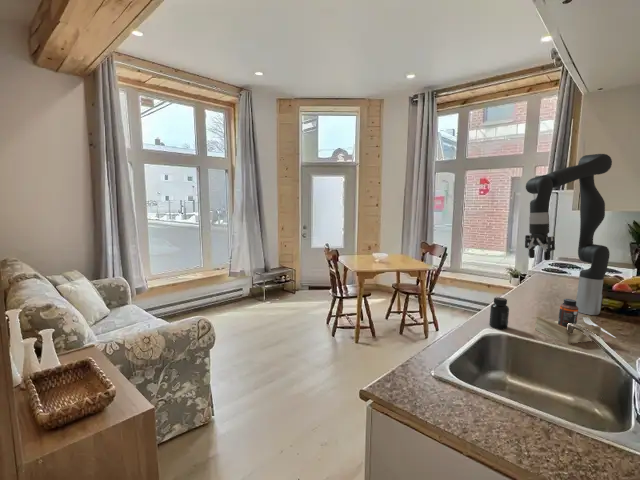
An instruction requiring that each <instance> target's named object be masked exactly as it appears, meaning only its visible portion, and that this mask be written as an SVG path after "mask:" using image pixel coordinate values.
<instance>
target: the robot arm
mask: <svg viewBox="0 0 640 480" xmlns="http://www.w3.org/2000/svg"><path fill="white" fill-rule="evenodd" d="M612 164H613V159H612V157H611V156H610V155H608V154H605V153H596V154H594V153H593V154H587V155H586V154H585V155H583V156H581V157H580V158H579V161H578V164H576V165H572V166H568V167H563V168H560V169H557V170H554V171H552V172H550V173H547V174H543V175H537V176H536V177H532V178H530V179H529V180H528V181H527V182H526V184H525V190H526V191H527V192H528V193H529V194H532V195H536V198H534V199H531V201H530V202H529V224H528V227H529V228H528V229H529V234H527V235H525V236H524V237H525V238H524V239H525V240H524V248H525V249H527V250H528V257H529V258H530V259H534V258H535V256H536V255H535V251H536V250H535V249H536V247H541V248H542V249H543V251H544V253H543V254H544V255H543V256H544V261H550V259H551V257H552V256H551V252H552V251H555V250H556V243H555V240H556V239H555V236H553V235H552V236H549V235H548V234H549V233H550V214H549V213H550V211H549V203H550V199H551V196H552V193H553V190H554V188H558V187H561V186H565V185H567V184H569V183H573V182H575V181H578V180H579V181H578V182H579V194H580V195H579V196H580V197H579V199H580V204H579V205H580V206H579V207H580V208H579V217H580V223H579V224H580V225H579V240H578V249H577V255H578V259H579V260H580V261H581V262H584V263H588V264H591V265H590V267H589V268H588V269H581V270H579V271H580V272H579V277H578V282H577V283H578V285H577V292H576V299H575V301H576V306H577V307H578V313H580V314H585V315H588V316H590V315H591V316H598V315H599V314H601V308H602V302H603V301H602V300H603V294H602V293H603V285H604V278H605V275H606V273H607V270H608V265H609V261H610V256H611V255H610V250H609V248H608V247H607V246H606V245H602V244H595V243H594V235H595V232H596V231H597V229H598V228H599V227H600V226H601V224H602V222H603V221H604V219H605V216H606V203H605V200H604V197H603V196H602V194H601V193H600V191H599V190H598V188H597V187H596V185H595V175H603V174H605V173H607V172H608V171H610V169H611V168H612Z"/></svg>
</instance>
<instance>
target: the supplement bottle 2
mask: <svg viewBox="0 0 640 480" xmlns="http://www.w3.org/2000/svg"><path fill="white" fill-rule="evenodd" d="M578 314H579V312H578V307H577V306H576V299H573V298H572V299H571V298H564V299H563V302H562V303H561V304H560V305H559V312H558V319H557V321H558V325H561V326H563V327H566V328H567V324H568V323H572V324H578V323H577V322H578Z"/></svg>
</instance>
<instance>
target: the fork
mask: <svg viewBox="0 0 640 480" xmlns="http://www.w3.org/2000/svg"><path fill="white" fill-rule="evenodd" d="M582 319H583V321H584V323H585V324H587V325H590V326H599V325H598V324H597V323H594V322H593V321H592V320H591V319H590V317H587V316H586V317H585V316H582ZM601 331H602V332H604V333H606V334H607V335H609V336H611V337H612V338H615V339H617V337H616V336H614V335H613V334H611V333H610V332H609V331H607V330H606V329H604V328H602V327H601Z"/></svg>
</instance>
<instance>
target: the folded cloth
mask: <svg viewBox="0 0 640 480" xmlns="http://www.w3.org/2000/svg"><path fill="white" fill-rule="evenodd" d="M583 327H584V328H586V329H588V330H589V331H591V332H593V333H594V334H596V335H597V336H599V337H600V336H601V331H602V330H601V328H602V327H601V326H599V325H598V326H594V325H591V326H583ZM534 331H537V332H539V333H541V334H544V335H546V336H549V337H550V338H552V339H555V340H558V342H559V341H560V342H562V343H564V344H567V345H570V344H571V343H572V344H579V343H578V342H581V343H587V342H586V341H590V339H589V338H588V337H587V336H586V335H584V334H583V333H581V332H580V331H578V330H576V329H574V330H573V333H572V334H570V333H568V330H567V328H566V327H563V326H561V325H558V320H555V321H550V320H547V319H546V318H543V317H539V316H537V317H536V320H535V327H534ZM600 338H601V337H600Z"/></svg>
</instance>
